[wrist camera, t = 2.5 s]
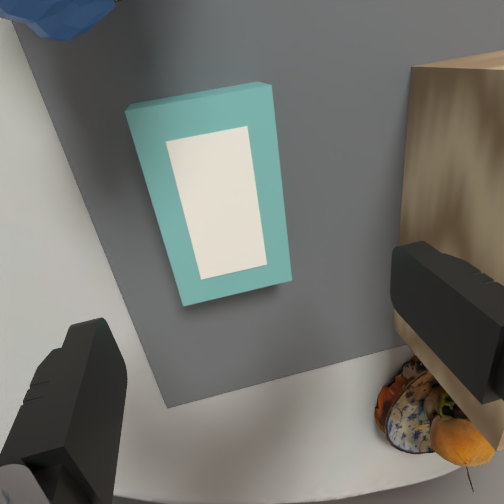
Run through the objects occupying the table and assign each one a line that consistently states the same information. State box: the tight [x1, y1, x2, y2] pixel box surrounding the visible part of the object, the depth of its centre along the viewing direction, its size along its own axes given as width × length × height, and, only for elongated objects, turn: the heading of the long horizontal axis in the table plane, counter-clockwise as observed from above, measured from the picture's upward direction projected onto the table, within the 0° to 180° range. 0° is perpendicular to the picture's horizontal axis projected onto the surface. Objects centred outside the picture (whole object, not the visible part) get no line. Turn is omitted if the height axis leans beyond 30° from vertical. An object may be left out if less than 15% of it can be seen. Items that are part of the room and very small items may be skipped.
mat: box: [12, 0, 504, 408], centre depth 20 cm, size 22×26×1 cm
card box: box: [125, 81, 292, 306], centre depth 16 cm, size 9×6×2 cm, turn 8°
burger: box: [375, 355, 496, 490], centre depth 27 cm, size 12×12×8 cm
